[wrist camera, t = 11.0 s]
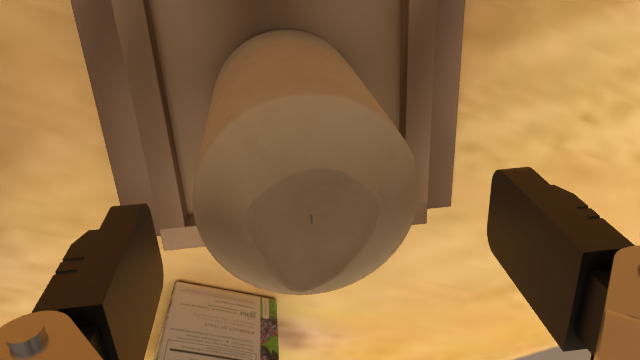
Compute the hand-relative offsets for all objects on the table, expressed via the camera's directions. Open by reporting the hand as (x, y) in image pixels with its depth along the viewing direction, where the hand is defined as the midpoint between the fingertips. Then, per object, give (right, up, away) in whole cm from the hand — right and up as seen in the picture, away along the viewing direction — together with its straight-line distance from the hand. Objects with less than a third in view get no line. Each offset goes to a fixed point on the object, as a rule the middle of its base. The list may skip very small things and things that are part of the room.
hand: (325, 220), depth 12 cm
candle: (-1, +4, +8) cm, 9 cm away
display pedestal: (-2, +6, +12) cm, 13 cm away
